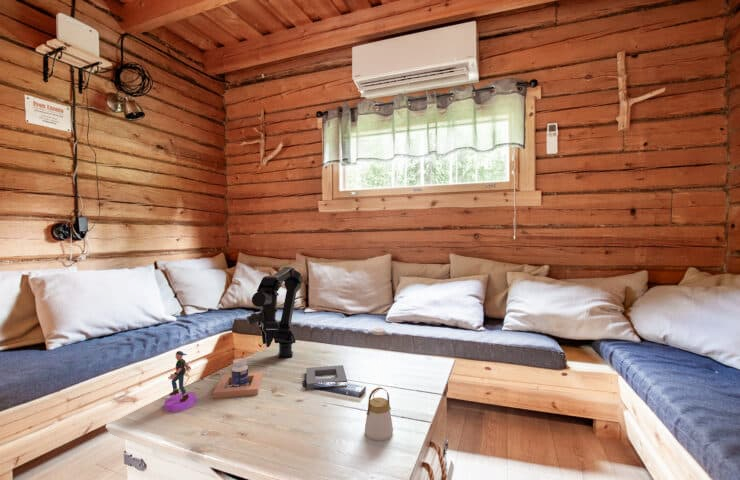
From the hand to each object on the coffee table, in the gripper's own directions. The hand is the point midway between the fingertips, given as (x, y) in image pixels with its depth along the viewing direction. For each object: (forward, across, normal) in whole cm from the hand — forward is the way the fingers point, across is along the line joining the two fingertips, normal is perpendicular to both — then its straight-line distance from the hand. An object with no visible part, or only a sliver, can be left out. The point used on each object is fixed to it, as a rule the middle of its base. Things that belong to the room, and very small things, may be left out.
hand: (265, 345), depth 143 cm
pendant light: (+18, +55, +25) cm, 63 cm away
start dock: (+11, +14, +22) cm, 28 cm away
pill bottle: (+14, +7, -9) cm, 18 cm away
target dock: (+14, +7, -9) cm, 18 cm away
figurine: (+17, +12, -28) cm, 35 cm away
